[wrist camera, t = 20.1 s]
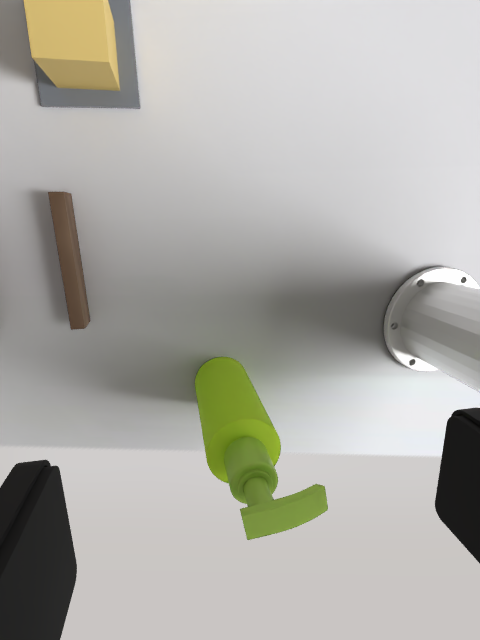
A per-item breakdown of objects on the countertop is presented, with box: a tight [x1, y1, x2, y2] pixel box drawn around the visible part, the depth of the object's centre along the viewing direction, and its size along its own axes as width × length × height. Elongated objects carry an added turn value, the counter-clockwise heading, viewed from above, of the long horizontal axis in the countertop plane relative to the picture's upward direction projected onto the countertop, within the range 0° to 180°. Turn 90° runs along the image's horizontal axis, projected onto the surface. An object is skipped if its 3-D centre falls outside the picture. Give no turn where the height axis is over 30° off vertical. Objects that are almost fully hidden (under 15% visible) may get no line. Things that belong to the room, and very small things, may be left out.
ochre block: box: [24, 0, 120, 91], centre depth 27 cm, size 5×5×6 cm
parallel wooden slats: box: [48, 192, 90, 329], centre depth 32 cm, size 9×12×2 cm
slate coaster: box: [34, 0, 140, 109], centre depth 30 cm, size 8×8×1 cm
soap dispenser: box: [195, 357, 328, 540], centre depth 31 cm, size 6×7×20 cm
